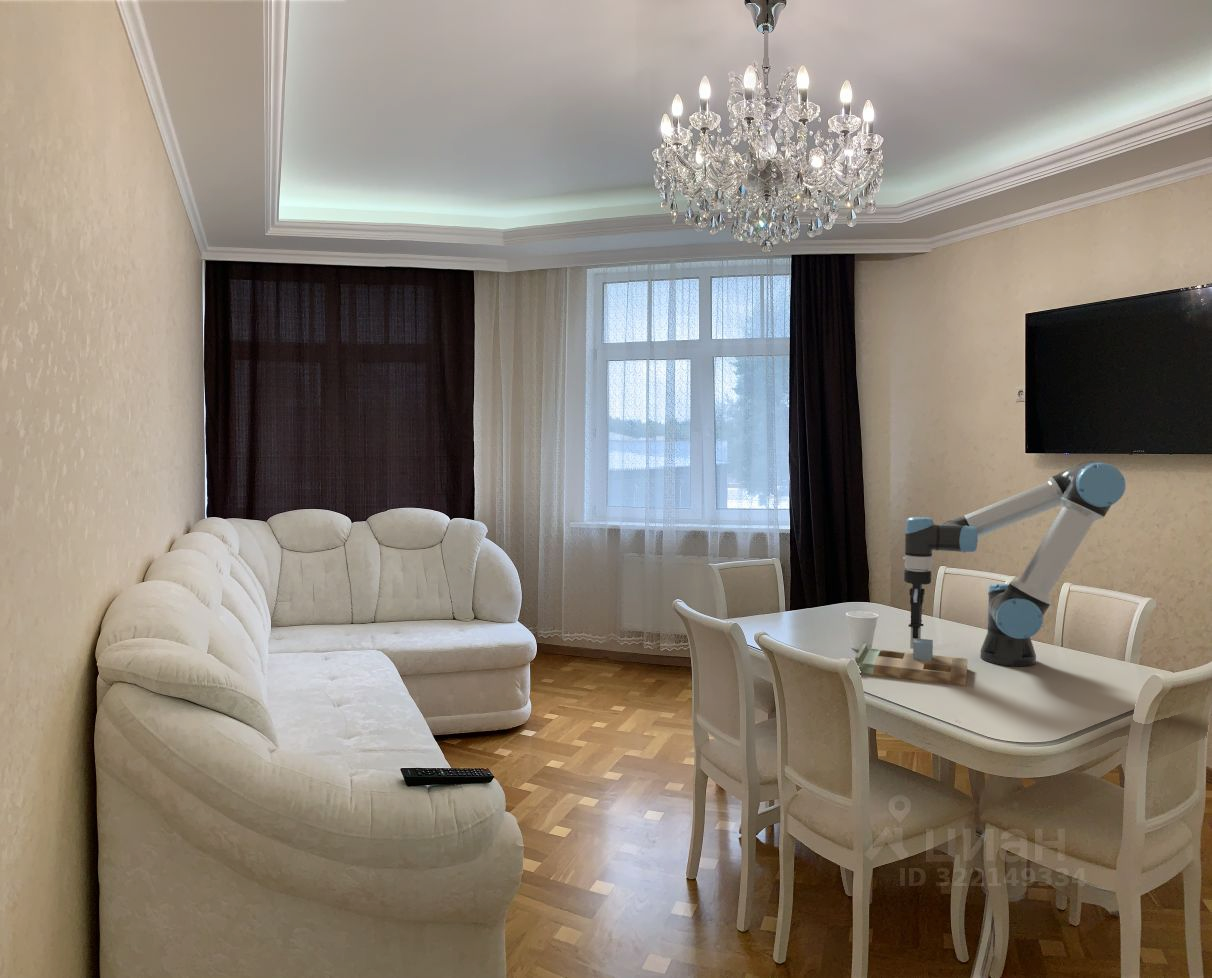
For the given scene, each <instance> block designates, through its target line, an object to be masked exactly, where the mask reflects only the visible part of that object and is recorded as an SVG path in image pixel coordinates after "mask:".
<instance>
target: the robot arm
mask: <svg viewBox="0 0 1212 978" xmlns="http://www.w3.org/2000/svg"><path fill="white" fill-rule="evenodd" d="M1126 485H1127V483H1126V479H1125V476H1124V475H1123V473H1122V472H1121V471H1120V470H1119V469H1118V468H1117V467H1115V466H1114V465H1112V464H1110V463H1108V462H1104V461H1103V462H1102V461H1091V460H1090V461H1083V462H1080V463H1078V464H1076V465H1074V466H1071V467H1070V468H1067V469H1066V470H1064V471H1062V472H1060V473H1057V474H1055V475H1053V476H1050V477H1049V479H1048V481H1047V482H1045V483H1042V484H1040V485H1037V486H1035V487H1032V488H1029V489H1026V490H1025V491H1022V492H1019V493H1017V494H1015V495H1012V496H1009V497H1007V498H1005V499H1002V500H999V501H997V502H995V503H992V504H990V505H987V506H985V507H982V508H980V509H977V510H975V511H973V512H972V511H971V512H970V513H967V514H964V515H963V516H959V517H957V518H955V519H950V520H945V521H944V522H943V523H941V524H935V522H934V520H933V518H931V517H925V516H910V517H909V518H907V519H906V522H905V523H906V524H905V533H904V534H905V535H904V536H905V538H904V539H905V542H904V543H905V544H904V552H905V553H904V556H903V557H902V561H904V568H905V570H904V571H903V572H904V573H903V581H904V582H905V583H907V584H911V585H912V587H910V589H909V596H910V598H909V599H910V600H909V603H910V623H909V624H908V627H909V628H910V643H909V644H910V645H909V646H910V647H909V648H910V649H913V642H914V639H915V638H918V639H922V637H921V636H922V627H924V625H925V624H924V623H922V622H923V620H922V619H923V618H922V617H923V603H924V598H925V597H924V596H925V594H926V593H925V588H923V585H930V584H931V583H932V571H931V570H932V568H933V551H945V552H960V553H974V552H976V551H977V549H978V548H977V547H978V543H979V542H978V539H979V537H982V536H984V535H988V534H989V533H992V532H995V531H997V530H1000V529H1002V528H1004V527H1008V526H1010V525H1013V524H1016V523H1018V522H1021V521H1023V520H1025V519H1028V518H1032V517H1034V516H1037V515H1039V514H1042V513H1043V512H1044V513H1045V512H1047V511H1049V510H1051V509H1055V508H1057V507H1060V506H1061V509H1060V510H1059V512H1058V513H1057V515H1056V518H1055V519H1054V521H1053V522H1052V524H1051V525H1050V527H1049V528H1048V530H1047V531H1046V534H1045V535H1044V537H1043V539H1042V540H1041V542H1040V543H1039V546H1038V547H1037V548H1036V551H1035V552H1034V554H1033V555H1032V557H1031V559H1030V560H1029V562H1028V564H1027V565H1026V567H1025V568H1024V570H1023V572H1022V573H1021V575H1020V576H1019V578H1018V579H1017V580H1014V581H1013V580H1012V581H1010V582H1009V583H1008V584H1007V583H1005V584H1004V583H992V584H990V585H989V588H988V591H987V595H988V606H987V607H988V609H987V610H988V611H987V632H986V636H985V637H984V641H983V643H982V646H981V647H980V652H979V653H980V659H982V660H983V661H986V662H989V663H991V664H996V665H1002V666H1009V667H1010V666H1011V667H1029V666H1030V667H1031V666H1034V665H1035V664H1036V663H1037V654H1036V652H1035V648H1034V645H1033V642H1032V639H1031V637H1033V636H1035V635H1036V634H1038V633H1039V632H1040V630H1041V628H1042V626H1043V622H1044V615H1045V614H1046V612H1047V611H1048V610H1049V607H1050V606H1051V604H1052V602H1051V599H1050V594H1051V592H1052V591H1053V589H1054V588H1055V586H1056V584H1057V582H1058V581H1059V580H1060V578H1061V576H1062V574H1063V573H1064V571H1065V570H1066V568H1067V566H1068V565H1069V564H1070V562H1071V560H1072V558H1073V557H1074V555H1075V553H1076V552H1077V550H1078V548H1079V547H1080V545H1081V543H1083V540H1084V539H1085V537H1086V535H1087V534H1088V532H1089V530H1091V527H1092V526H1093V524H1094V522H1095V521H1099V520H1101V519H1105V516H1106V515H1107V514H1108V512H1109V510H1110V509H1111V507H1112V506H1113V505H1115V504H1116V503H1117V502H1118V501H1119V500H1121V498H1122V497H1123V496H1124V494H1125V491H1126V487H1127V486H1126Z"/></svg>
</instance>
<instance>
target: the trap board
mask: <svg viewBox="0 0 1212 978" xmlns="http://www.w3.org/2000/svg"><path fill="white" fill-rule="evenodd" d="M854 659H855V660H854V662H855V661H856V663H857V665H858V666H859V669H860V671H861V674H862V675H869V676H870V675H871V676H876V677H879V676H880V677H886V678H887V677H888V678H897V679H904V680H912V681H920V682H921V681H922V682H930V683H938V684H946V685H947V684H949V685H955V686H956V685H957V686H963V687H964V686H967V676H968V675H967V674H968V658H965V657H964V658H963V657H962V658H961V657H955V656H954V657H953V656H943V655H934V654H933V655H932V661H927V660H917V659H913V652H905V651H896V650H895V651H894V650H889V649H888V650H886V649H876V648H871V649H868V648H867V643H863V645H862V647H861V648H860V650H858V652H857V654H856V655H855V658H854ZM861 674H860V675H861Z"/></svg>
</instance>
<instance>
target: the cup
mask: <svg viewBox="0 0 1212 978" xmlns="http://www.w3.org/2000/svg"><path fill="white" fill-rule="evenodd" d="M845 615H846V619H847V626H848V634H849V641H850V647H851V648H852V649H853V650H855V651H859V650H860V648H861V647H862V645H863V643H867V648H868V649H873V648H872V647H873V643H874V642H873V641H874V639H875V637H874V636H875V631H876V627H877V623H878V618H879V615H878V614H877V613H874V612H870V611H860V610H859V611H858V610H856V611H848V612H845Z"/></svg>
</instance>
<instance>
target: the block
mask: <svg viewBox="0 0 1212 978" xmlns="http://www.w3.org/2000/svg"><path fill="white" fill-rule="evenodd" d="M933 647H934V640H933V639H927V638H921V639H918V638H915V639H914V642H913V650H912V653H913V659H917V660H927V661H932V655H934V654H933V653H934V651H933V649H934V648H933Z"/></svg>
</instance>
